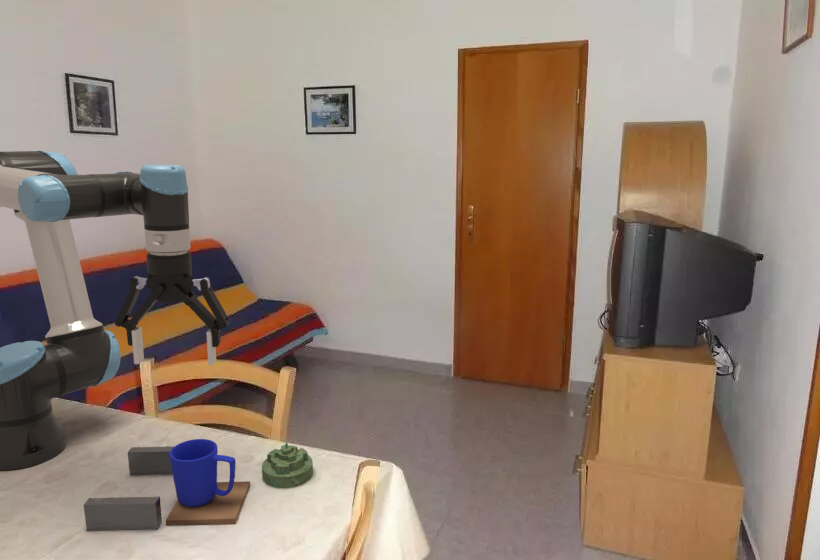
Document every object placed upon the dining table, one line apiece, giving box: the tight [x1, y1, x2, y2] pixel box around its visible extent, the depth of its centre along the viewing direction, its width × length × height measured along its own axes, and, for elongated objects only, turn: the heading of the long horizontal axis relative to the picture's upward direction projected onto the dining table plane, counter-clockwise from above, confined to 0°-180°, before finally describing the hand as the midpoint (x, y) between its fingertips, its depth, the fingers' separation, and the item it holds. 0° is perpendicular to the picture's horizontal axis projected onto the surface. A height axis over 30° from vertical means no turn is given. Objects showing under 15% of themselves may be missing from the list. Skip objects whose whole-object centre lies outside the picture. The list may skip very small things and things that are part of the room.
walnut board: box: [165, 480, 251, 526], centre depth 110 cm, size 12×12×1 cm
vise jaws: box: [83, 445, 174, 532], centre depth 113 cm, size 23×12×5 cm, turn 3°
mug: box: [169, 438, 236, 507], centre depth 108 cm, size 8×12×10 cm
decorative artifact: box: [261, 442, 314, 489], centre depth 120 cm, size 10×7×10 cm
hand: (175, 362), depth 112 cm, fingers open, 13 cm apart
